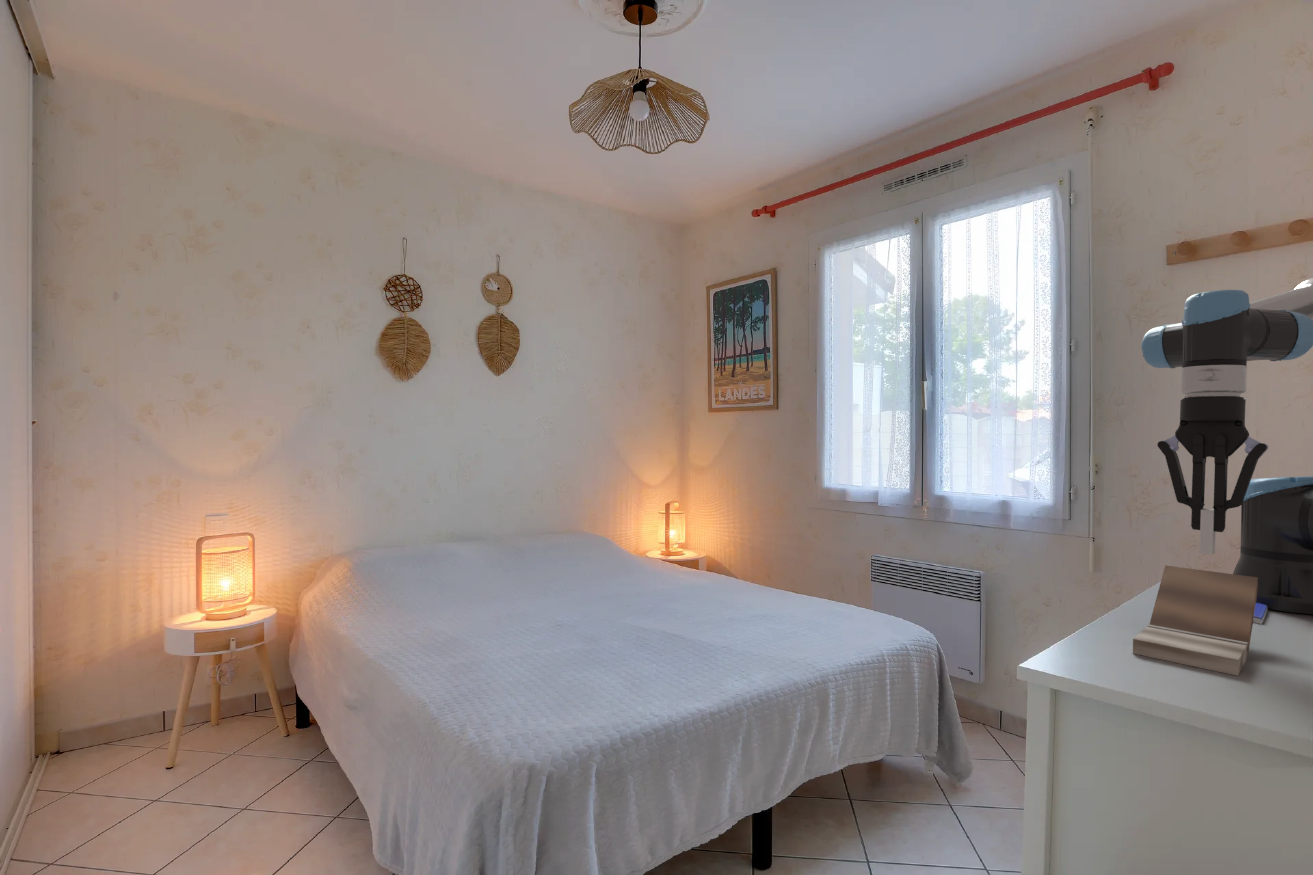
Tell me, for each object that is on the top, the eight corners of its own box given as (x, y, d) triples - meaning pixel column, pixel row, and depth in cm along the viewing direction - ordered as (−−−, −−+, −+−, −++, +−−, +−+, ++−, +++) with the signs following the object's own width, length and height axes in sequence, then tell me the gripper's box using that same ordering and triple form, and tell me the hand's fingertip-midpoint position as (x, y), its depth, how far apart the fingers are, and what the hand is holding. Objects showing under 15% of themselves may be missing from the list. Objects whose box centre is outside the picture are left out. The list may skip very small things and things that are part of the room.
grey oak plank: (1238, 675, 84) (1238, 658, 84) (1132, 653, 92) (1133, 637, 92) (1247, 657, 91) (1247, 642, 91) (1148, 638, 99) (1148, 624, 99)
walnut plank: (1248, 652, 92) (1248, 642, 91) (1150, 633, 100) (1149, 624, 99) (1258, 586, 99) (1257, 577, 98) (1166, 574, 107) (1165, 565, 106)
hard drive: (1262, 617, 108) (1267, 604, 117) (1197, 606, 114) (1207, 595, 123) (1262, 626, 108) (1267, 613, 117) (1197, 615, 114) (1207, 603, 123)
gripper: (1153, 395, 102) (1148, 549, 103) (1268, 393, 93) (1263, 562, 93) (1163, 397, 107) (1158, 544, 108) (1273, 396, 98) (1268, 556, 98)
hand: (1207, 552), depth 100 cm, fingers closed
